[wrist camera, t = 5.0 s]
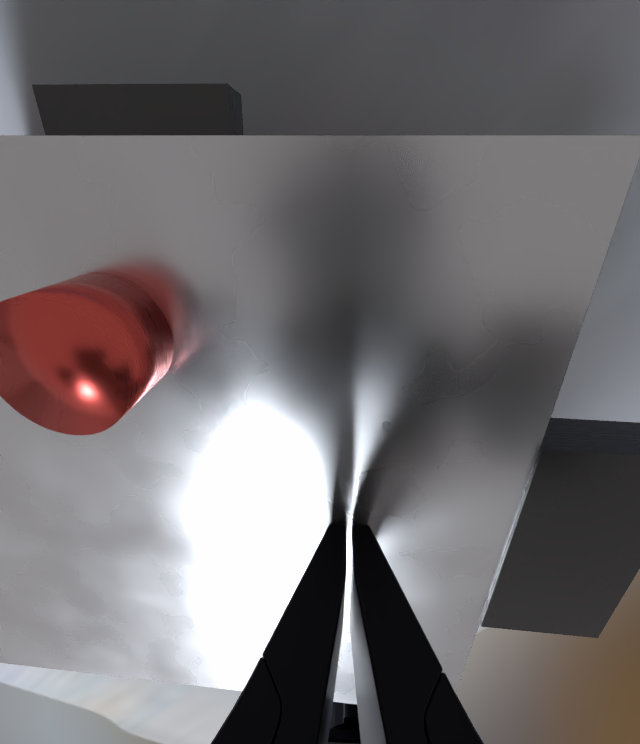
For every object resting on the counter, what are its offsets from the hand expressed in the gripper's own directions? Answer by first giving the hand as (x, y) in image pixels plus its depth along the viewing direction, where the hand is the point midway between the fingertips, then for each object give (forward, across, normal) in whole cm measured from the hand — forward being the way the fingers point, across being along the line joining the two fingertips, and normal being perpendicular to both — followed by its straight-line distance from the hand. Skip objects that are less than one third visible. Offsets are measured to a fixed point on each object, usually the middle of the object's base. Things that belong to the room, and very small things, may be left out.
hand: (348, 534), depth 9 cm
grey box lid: (+1, +3, 0) cm, 3 cm away
